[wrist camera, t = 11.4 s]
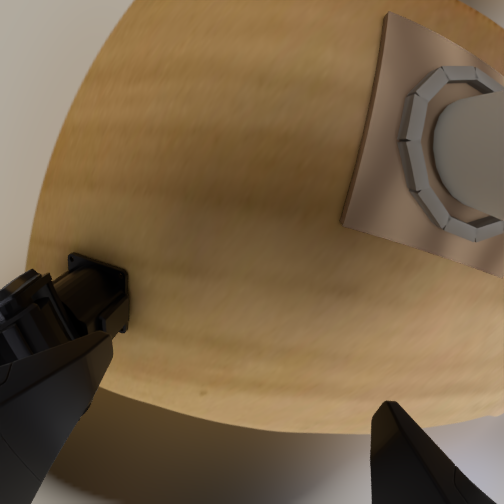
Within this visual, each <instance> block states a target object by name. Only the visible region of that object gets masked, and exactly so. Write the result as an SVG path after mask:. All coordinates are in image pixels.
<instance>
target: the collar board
mask: <svg viewBox="0 0 504 504" xmlns="http://www.w3.org/2000/svg"><path fill="white" fill-rule="evenodd" d="M498 91H504V76H503V75H502V74H500V73H499V72H498V71H496V70H495V69H494V68H492V67H491V66H489V65H488V64H487V63H485V62H484V61H482V60H481V59H479V58H478V57H476V56H475V55H473V54H472V53H470V52H469V51H467V50H465V49H464V48H462V47H461V46H459V45H457V44H456V43H454V42H452V41H450V40H449V39H447V38H445V37H443V36H441V35H440V34H438V33H436V32H434V31H432V30H430V29H428V28H426V27H424V26H422V25H420V24H418V23H416V22H413V21H411V20H409V19H407V18H404V17H402V16H400V15H397V14H395V13H393V12H390V11H388V13H387V14H386V15H385V17H384V22H383V30H382V37H381V44H380V50H379V56H378V62H377V68H376V74H375V79H374V85H373V90H372V95H371V100H370V105H369V110H368V114H367V119H366V123H365V128H364V132H363V137H362V141H361V145H360V149H359V153H358V157H357V161H356V165H355V169H354V173H353V177H352V180H351V184H350V188H349V191H348V195H347V198H346V202H345V205H344V209H343V212H342V216H341V219H340V223H341V225H342V226H343V227H347V228H350V229H354V230H357V231H361V232H364V233H368V234H371V235H374V236H378V237H381V238H384V239H388V240H391V241H394V242H397V243H401V244H404V245H407V246H410V247H413V248H416V249H419V250H423V251H426V252H429V253H432V254H435V255H438V256H441V257H444V258H447V259H449V260H452V261H455V262H458V263H461V264H464V265H467V266H469V267H472V268H475V269H478V270H481V271H483V272H486V273H489V274H491V275H494V276H497V277H499V278H503V276H504V221H502V220H500V219H498V218H496V217H493V216H491V215H489V214H486V213H484V212H481V211H479V210H477V209H474V208H472V207H469V206H467V205H464V204H462V203H461V202H460V201H458V200H457V199H455V198H454V197H453V196H452V195H451V194H450V192H449V191H448V190H447V188H446V187H445V186H444V184H443V183H442V180H441V178H440V175H439V173H438V170H437V168H436V163H435V157H434V151H433V142H434V130H435V127H436V124H437V121H438V118H439V116H440V115H441V113H442V112H443V111H444V109H445V108H446V107H447V106H448V105H449V104H451V103H453V102H455V101H457V100H460V99H464V98H469V97H473V96H478V95H483V94H488V93H493V92H498Z"/></svg>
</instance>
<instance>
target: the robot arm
mask: <svg viewBox="0 0 504 504" xmlns="http://www.w3.org/2000/svg"><path fill="white" fill-rule="evenodd" d="M72 257H73V258H72ZM73 259H74V260H73ZM68 269H69V271H67V272H66V273H64V274H63V275H61V276H60V277H58V278H57V279H55V280H54V281H51V280H52V278H51V275H50V273H46V274H44V275H41V274H40V273H39V274H38V273H37V272H36V271H35V270H34V269H31V270H29V271H27V272H25V273H24V274H22V275H20V276H19V277H17V278H15V279H14V280H12V281H11V282H10V283H8V284H7V285H6V286H4V287H3V288H2V289H1V290H0V504H31V503H32V501H33V499H34V497H35V495H36V493H37V491H38V489H39V487H40V486H41V484H42V482H43V480H44V478H45V476H46V474H47V473H48V471H49V469H50V467H51V465H52V463H53V462H54V460H55V459H56V457H57V455H58V453H59V452H60V450H61V448H62V446H63V445H64V443H65V442H66V440H67V438H68V437H69V435H70V433H71V431H72V430H73V428H74V427H75V425H76V423H77V422H78V421H79V420H80V417H81V416H82V415H83V414H84V413H85V412H86V411H87V410H88V408H89V407H90V405H91V402H92V400H93V396H94V394H95V392H96V391H97V389H98V387H99V384H100V382H101V380H102V378H103V376H104V374H105V372H106V370H107V368H108V366H109V364H110V362H111V360H112V358H113V345H112V339H113V338H114V337H115V336H116V334H117V333H118V332H120V333H125V332H126V331H127V330H128V321H129V297H128V295H127V294H128V274H127V272H126V271H125V270H124V269H121V268H118V267H115V266H112V265H109V264H106V263H103V262H100V261H97V260H94V259H91V258H88V257H85V256H82V255H80V254H77V253H71V254H69V255H68ZM120 274H122V275H123V277H122V276H121V275H120ZM370 466H371V489H372V504H496V503H495V502H494V501H493V500H492V499H490V498H489V497H488V496H487V495H486V494H485V493H484V492H482V491H481V490H480V489H479V488H478V487H477V486H476V485H475V484H473V483H472V482H471V481H470V480H469V479H468V478H467V477H466V476H465V475H464V474H463V473H462V472H461V471H460V470H459V468H458V467H457V466H455V464H454V463H453V462H452V461H451V460H450V459H449V458H448V457H447V456H446V454H445V453H444V452H443V451H442V450H441V449H440V448H439V447H438V446H437V445H436V444H435V443H434V442H433V440H432V439H431V438H430V437H429V436H428V435H427V434H426V433H425V432H424V431H423V430H422V429H421V427H420V426H419V425H418V424H417V423H416V422H415V421H414V420H413V419H412V418H411V417H410V416H409V415H408V413H407V412H406V411H405V410H404V409H403V408H402V407H401V406H400V405H399V404H398V403H397V402H396V401H385V402H383V403H382V405H381V406H380V407H379V409H378V410H377V411H376V413H375V414H374V415H373V417H372V421H371V450H370Z"/></svg>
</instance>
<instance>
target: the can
mask: <svg viewBox="0 0 504 504" xmlns="http://www.w3.org/2000/svg"><path fill="white" fill-rule="evenodd" d="M433 151H434V157H435V163H436V168H437V170H438V173H439V175H440V178H441V180H442V183H443V184H444V186H445V187H446V188H447V190H448V191H449V192H450V194H451V195H452V196H453V197H454V198H455V199H457V200H458V201H460V202H461V203H462V204H464V205H467V206H469V207H472V208H474V209H477V210H479V211H481V212H484V213H486V214H489V215H491V216H493V217H496V218H498V219H500V220H502V221H504V91H498V92H493V93H488V94H483V95H478V96H473V97H469V98H464V99H460V100H457V101H455V102H453V103H451V104H449V105H448V106H447V107H446V108H445V109H444V111H443V112H442V113H441V115H440V116H439V118H438V121H437V124H436V127H435V130H434V142H433Z"/></svg>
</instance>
